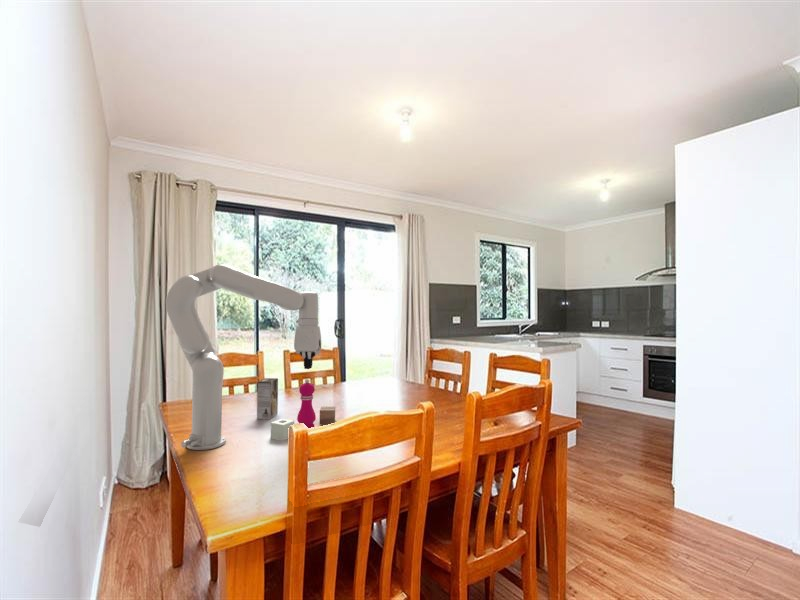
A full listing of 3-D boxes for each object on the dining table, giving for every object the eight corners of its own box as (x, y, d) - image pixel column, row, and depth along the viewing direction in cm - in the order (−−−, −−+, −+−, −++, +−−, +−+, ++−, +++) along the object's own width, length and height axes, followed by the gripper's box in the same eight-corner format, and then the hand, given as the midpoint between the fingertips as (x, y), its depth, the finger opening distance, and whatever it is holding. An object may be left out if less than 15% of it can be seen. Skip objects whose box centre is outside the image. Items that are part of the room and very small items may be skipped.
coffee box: (263, 413, 182) (264, 377, 182) (277, 413, 182) (278, 378, 182) (256, 419, 172) (256, 381, 173) (270, 419, 172) (271, 382, 172)
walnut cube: (334, 424, 167) (334, 410, 167) (319, 424, 166) (319, 410, 166) (335, 420, 173) (335, 406, 173) (321, 420, 172) (321, 406, 172)
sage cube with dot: (283, 440, 146) (283, 424, 146) (270, 438, 149) (270, 422, 149) (294, 436, 152) (294, 420, 152) (281, 433, 154) (282, 418, 154)
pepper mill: (310, 432, 156) (311, 381, 156) (293, 431, 157) (294, 380, 157) (318, 427, 163) (319, 377, 163) (301, 425, 164) (302, 377, 164)
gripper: (286, 322, 159) (286, 369, 159) (321, 323, 155) (320, 371, 155) (296, 321, 166) (296, 366, 166) (329, 322, 162) (329, 368, 162)
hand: (308, 368), depth 160 cm, fingers closed
